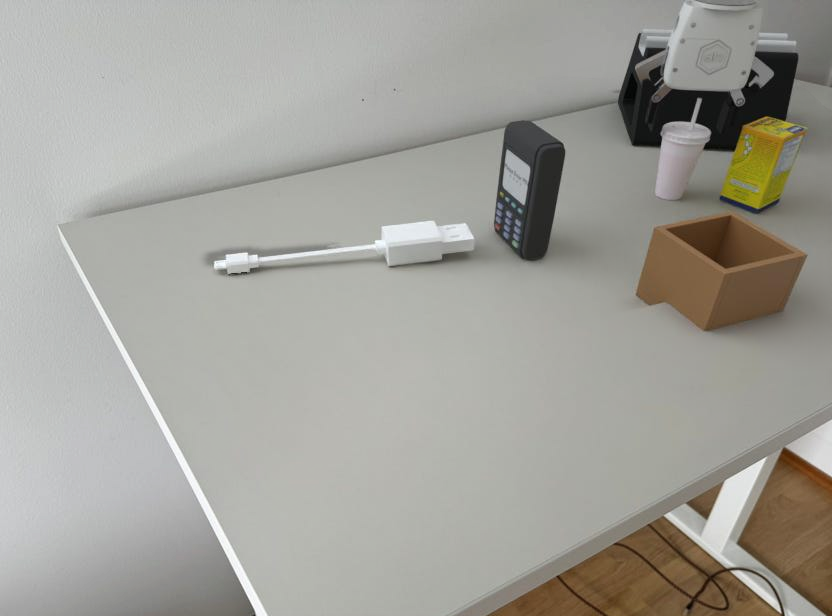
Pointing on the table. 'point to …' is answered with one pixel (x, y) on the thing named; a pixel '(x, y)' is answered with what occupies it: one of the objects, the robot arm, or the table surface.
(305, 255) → the charging cable
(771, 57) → the device stand
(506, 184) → the card reader
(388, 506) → the table surface
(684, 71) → the robot arm
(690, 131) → the smoothie
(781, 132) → the supplement box
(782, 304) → the open box
